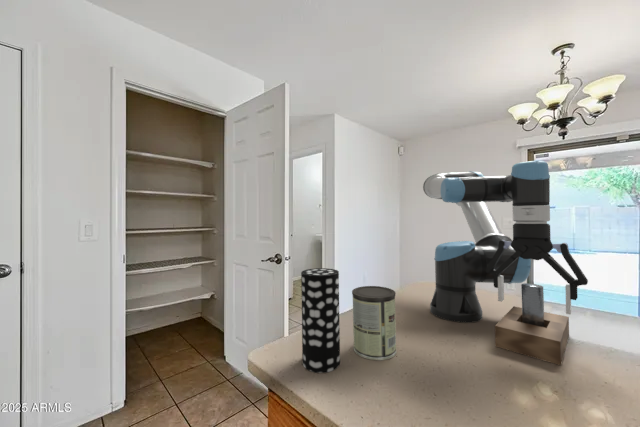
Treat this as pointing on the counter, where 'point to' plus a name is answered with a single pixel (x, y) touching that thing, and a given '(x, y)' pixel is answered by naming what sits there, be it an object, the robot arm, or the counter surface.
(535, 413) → the counter surface
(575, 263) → the robot arm
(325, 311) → the spotted tube
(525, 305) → the peg
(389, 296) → the coffee can
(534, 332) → the socket block
